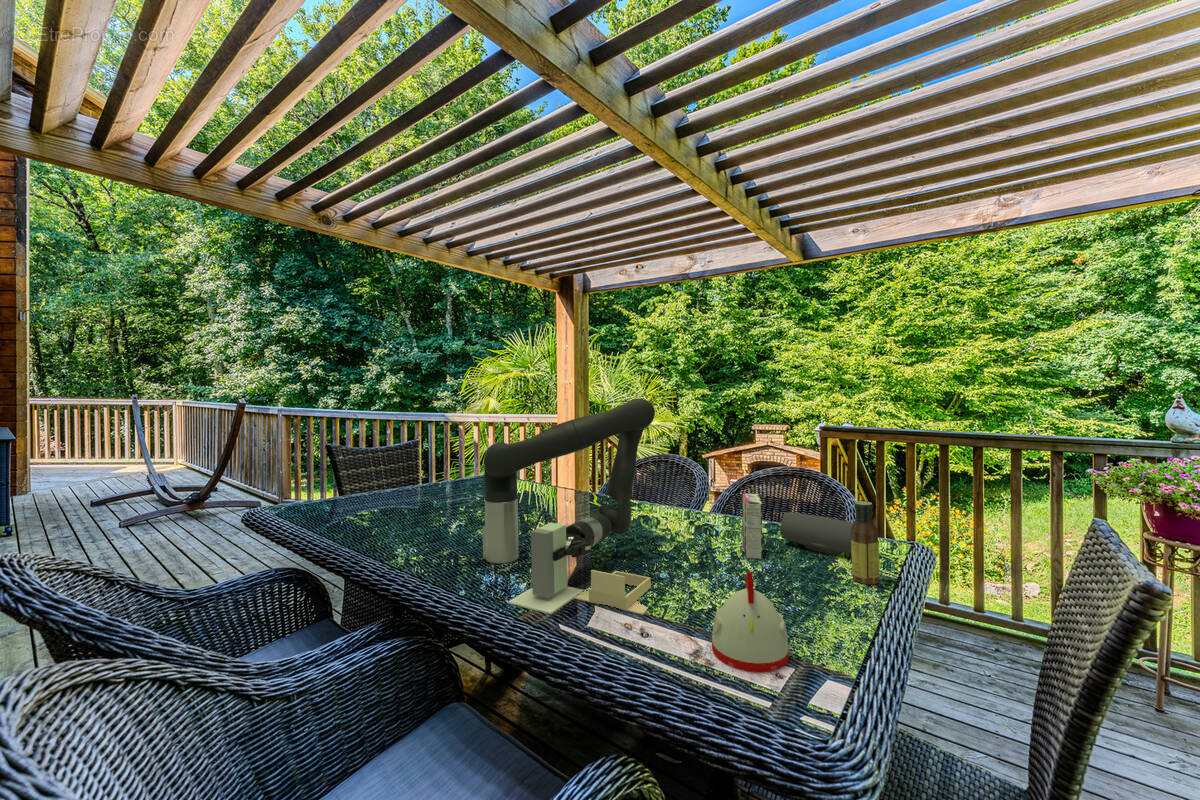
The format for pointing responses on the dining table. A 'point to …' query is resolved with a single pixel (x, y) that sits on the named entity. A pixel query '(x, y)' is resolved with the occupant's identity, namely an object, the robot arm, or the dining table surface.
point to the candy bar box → (752, 526)
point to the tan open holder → (616, 590)
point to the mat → (545, 600)
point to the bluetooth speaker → (817, 532)
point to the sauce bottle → (865, 545)
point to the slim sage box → (548, 560)
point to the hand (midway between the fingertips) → (545, 555)
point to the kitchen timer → (750, 632)
